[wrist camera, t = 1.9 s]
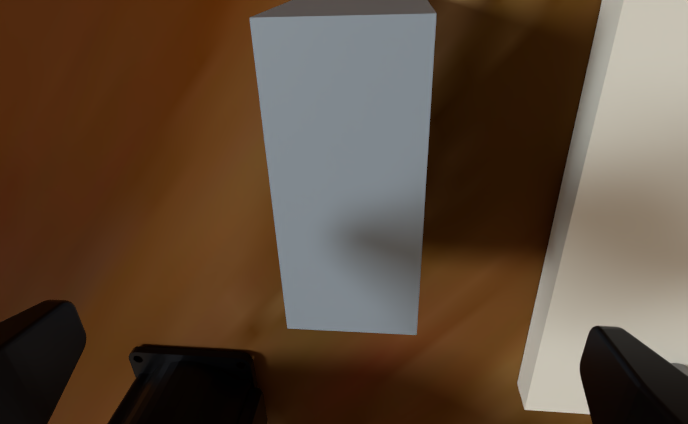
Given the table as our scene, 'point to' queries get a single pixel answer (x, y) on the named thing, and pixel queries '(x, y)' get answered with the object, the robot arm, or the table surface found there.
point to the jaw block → (347, 156)
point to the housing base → (618, 206)
